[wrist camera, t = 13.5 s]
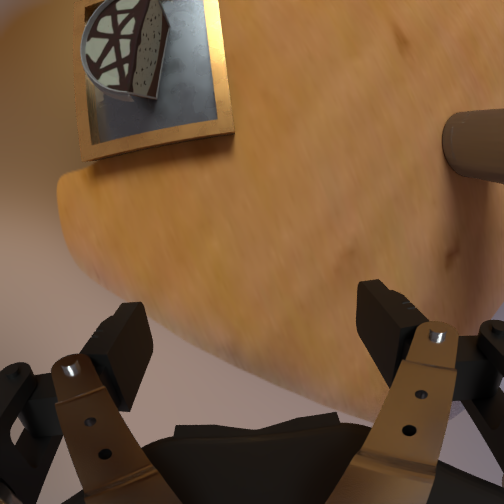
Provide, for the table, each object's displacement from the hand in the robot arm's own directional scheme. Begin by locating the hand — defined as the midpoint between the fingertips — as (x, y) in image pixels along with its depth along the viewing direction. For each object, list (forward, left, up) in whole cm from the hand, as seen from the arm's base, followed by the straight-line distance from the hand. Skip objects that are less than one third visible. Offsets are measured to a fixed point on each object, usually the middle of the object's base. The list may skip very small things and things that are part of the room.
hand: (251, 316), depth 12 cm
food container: (+10, -19, -26) cm, 33 cm away
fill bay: (+8, -19, -27) cm, 34 cm away
